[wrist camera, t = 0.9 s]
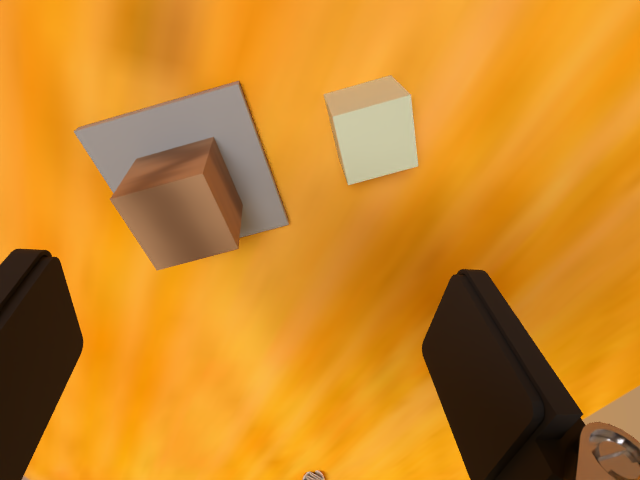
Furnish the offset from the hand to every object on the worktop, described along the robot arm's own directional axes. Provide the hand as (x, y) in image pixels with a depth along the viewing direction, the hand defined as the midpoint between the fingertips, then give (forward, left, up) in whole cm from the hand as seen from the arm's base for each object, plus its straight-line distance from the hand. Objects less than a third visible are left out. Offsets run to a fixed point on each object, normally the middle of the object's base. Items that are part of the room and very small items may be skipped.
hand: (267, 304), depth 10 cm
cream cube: (-6, +5, -22) cm, 23 cm away
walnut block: (+8, +6, -21) cm, 23 cm away
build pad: (+8, +6, -22) cm, 24 cm away
